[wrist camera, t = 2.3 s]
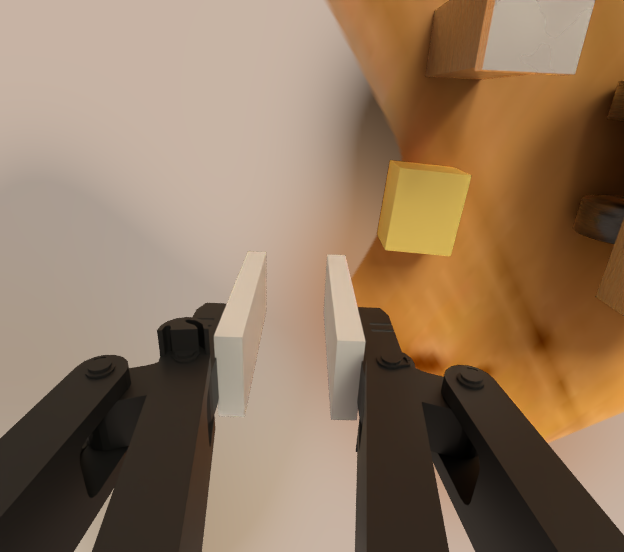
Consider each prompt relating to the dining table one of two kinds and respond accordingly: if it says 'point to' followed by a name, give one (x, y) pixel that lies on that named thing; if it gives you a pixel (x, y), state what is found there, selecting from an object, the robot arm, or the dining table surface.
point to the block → (422, 207)
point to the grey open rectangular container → (607, 226)
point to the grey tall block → (507, 38)
